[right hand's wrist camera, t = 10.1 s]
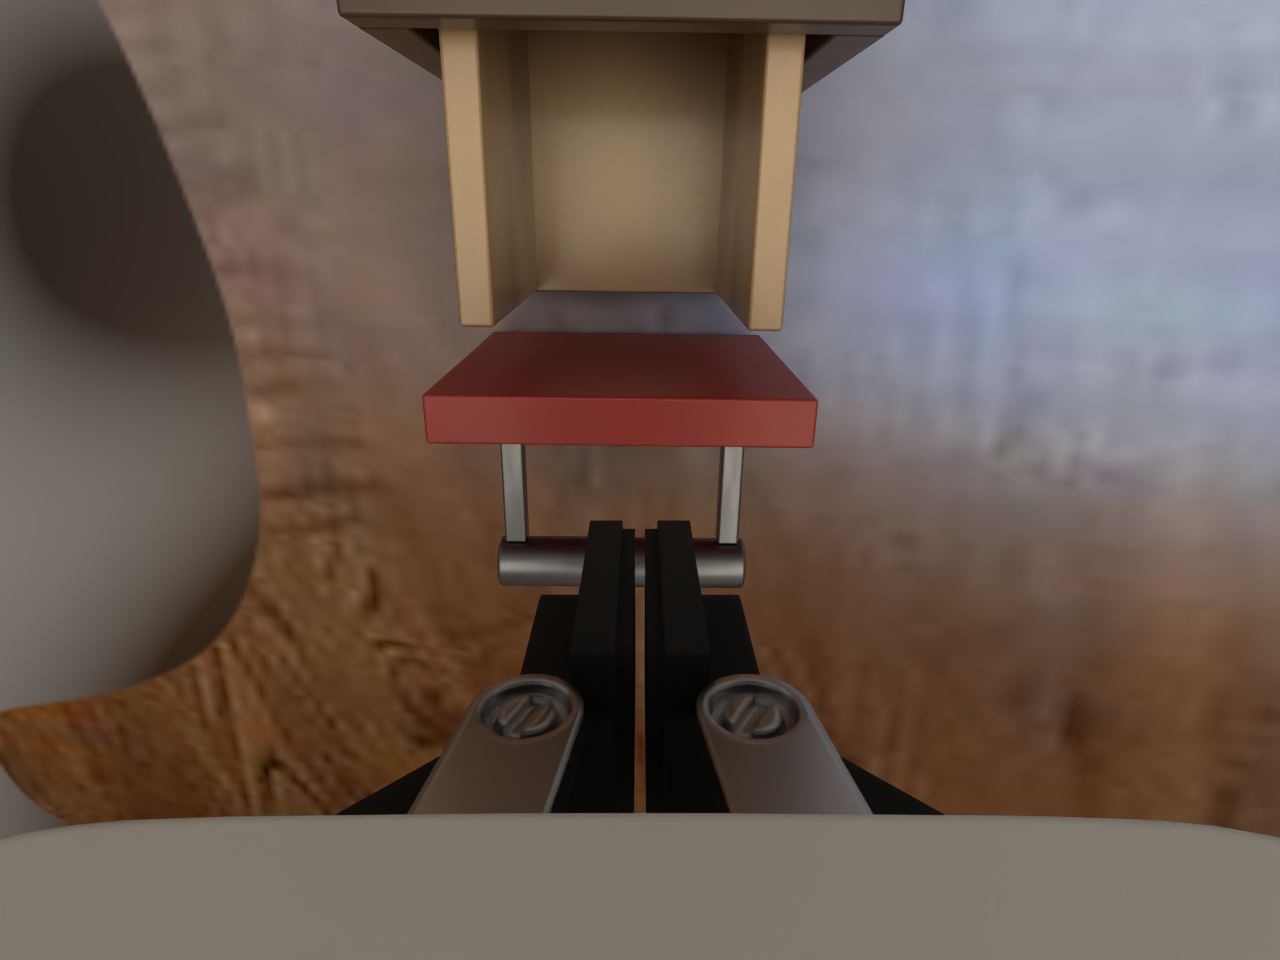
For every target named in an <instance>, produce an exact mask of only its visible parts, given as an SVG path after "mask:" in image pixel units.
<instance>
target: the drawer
mask: <svg viewBox="0 0 1280 960" xmlns="http://www.w3.org/2000/svg"><path fill="white" fill-rule="evenodd" d="M438 31H439V45H440V59H441V72H442V86H443V100H444V114H445V128H446V142H447V156H448V169H449V183H450V197H451V211H452V225H453V239H454V253H455V267H456V280H457V294H458V308H459V322H460V325H461V326H463V327H492V326H494V325H495V324H496V323H498V322H499V321H500V320H501V319H502V318H504V317H505V316H506V315H507V314H508V313H510V312H511V311H512V310H513V309H514V308H515V307H517V306H518V305H519V304H520V303H521V302H523V301H524V300H525V299H526V298H527V297H529V296H530V295H531V294H532V293H533V292H535V291H573V292H646V293H717V294H718V295H719V296H720V297H721V298H722V300H723V301H724V302H725V303H726V304H727V305H728V306H729V308H730V309H731V310H732V311H733V312H734V313H735V315H736V316H737V317H738V318H739V319H740V320H741V322H742V323H743V324H744V325H745V326H746V327H747V328H748V330H751V331H780V330H781V329H782V327H783V314H784V302H785V289H786V277H787V265H788V252H789V240H790V228H791V215H792V203H793V190H794V178H795V166H796V153H797V141H798V129H799V116H800V104H801V91H802V79H803V67H804V54H805V42H806V34H762V33H698V32H634V31H569V30H505V29H440V28H438ZM422 398H423V409H424V419H425V430H426V440H427V443H451V444H500V446H501V464H502V482H503V500H504V518H505V535H506V536H503V537H502V538H501V541H500V544H499V550H498V577H499V581H500V583H501V584H502V585H516V586H580V583H581V576H582V570H583V564H584V557H585V551H586V545H587V538H588V537H581V536H528V534H529V523H528V500H527V477H526V454H525V444H531V445H611V446H690V447H720V464H719V483H718V501H717V519H716V538H693V545H694V551H695V557H696V564H697V570H698V576H699V583H700V588H741V587H742V586H743V583H744V578H745V549H744V544H743V541H742V539H740V538H738V533H739V518H740V503H741V488H742V473H743V458H744V447H770V448H812V447H813V445H814V437H815V427H816V417H817V407H818V401H817V399H816V398H815V397H814V396H813V395H812V394H811V392H810V391H809V390H808V389H807V388H806V387H805V386H804V385H803V384H802V382H801V381H800V380H799V379H798V378H797V377H796V376H795V375H794V374H793V373H792V371H791V370H790V369H789V368H788V367H787V366H786V365H785V364H784V363H783V362H782V360H781V359H780V358H779V357H778V356H777V355H776V354H775V353H774V352H773V350H772V349H771V348H770V347H769V346H768V345H767V344H766V343H765V342H764V341H763V339H762V338H761V337H760V336H758V335H697V334H622V333H547V332H494V333H493V334H491V335H490V336H489V337H488V338H487V339H486V340H485V341H484V342H482V343H481V344H480V345H479V346H478V347H477V348H476V349H475V350H473V351H472V352H471V353H470V354H469V355H468V356H467V357H465V358H464V359H463V360H462V361H461V362H460V363H459V364H458V365H456V366H455V367H454V368H453V369H452V370H451V371H450V372H448V373H447V374H446V375H445V376H444V377H443V378H442V379H441V380H439V381H438V382H437V383H436V384H435V385H434V386H433V387H431V388H430V389H429V390H428V391H427V392H426V393H425V394H424V395H423V397H422ZM635 587H645V537H635Z"/></svg>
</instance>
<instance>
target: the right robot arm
mask: <svg viewBox="0 0 1280 960" xmlns="http://www.w3.org/2000/svg"><path fill="white" fill-rule="evenodd" d="M634 758H635V529H623V524H622V521H590V526H589V532H588V538H587V545H586V551H585V557H584V564H583V570H582V576H581V583H580V589H579V595H541V597H540V600H539V603H538V607H537V611H536V615H535V619H534V623H533V627H532V631H531V635H530V639H529V643H528V647H527V651H526V655H525V658H524V662H523V666H522V670H521V674H520V675H518V676H513V677H508V678H505V679H503V680H500V681H498V682H495V683H493V684H491V685H490V686H488V687H487V688H485V689H484V690H482V691H481V692H480V693H479V694H478V695H477V696H476V697H475V699H474V700H473V701H472V702H471V704H470V705H469V707H468V709H467V711H466V712H465V714H464V716H463V718H462V719H461V721H460V723H459V725H458V726H457V728H456V730H455V731H454V733H453V735H452V737H451V738H450V740H449V742H448V744H447V745H446V747H445V749H444V751H443V752H442V754H441V756H439V757H438V758H436V759H434V760H432V761H431V762H429V763H427V764H425V765H423V766H422V767H420V768H418V769H416V770H414V771H413V772H411V773H409V774H407V775H406V776H404V777H402V778H400V779H398V780H397V781H395V782H393V783H391V784H389V785H388V786H386V787H384V788H382V789H381V790H379V791H377V792H375V793H373V794H372V795H370V796H368V797H366V798H364V799H363V800H361V801H359V802H357V803H356V804H354V805H352V806H350V807H348V808H347V809H345V810H343V811H341V812H339V813H338V814H336V815H324V816H230V817H201V818H174V819H146V820H120V821H110V822H100V823H90V824H80V825H70V826H62V827H57V828H51V829H45V830H40V831H34V832H28V833H23V834H17V835H12V836H6V837H2V838H0V960H1280V838H1278V837H1274V836H1268V835H1263V834H1257V833H1252V832H1246V831H1240V830H1235V829H1229V828H1223V827H1218V826H1210V825H1200V824H1190V823H1180V822H1170V821H1160V820H1134V819H1106V818H1079V817H1051V816H972V815H944V814H942V813H941V812H939V811H937V810H935V809H933V808H932V807H930V806H928V805H926V804H924V803H923V802H921V801H919V800H917V799H916V798H914V797H912V796H910V795H908V794H907V793H905V792H903V791H901V790H899V789H898V788H896V787H894V786H892V785H891V784H889V783H887V782H885V781H883V780H882V779H880V778H878V777H876V776H874V775H873V774H871V773H869V772H867V771H866V770H864V769H862V768H860V767H858V766H857V765H855V764H853V763H851V762H849V761H848V760H846V759H844V758H842V757H841V756H839V754H838V752H837V751H836V749H835V747H834V745H833V744H832V742H831V740H830V738H829V737H828V735H827V733H826V731H825V730H824V728H823V726H822V725H821V723H820V721H819V719H818V718H817V716H816V714H815V712H814V711H813V709H812V707H811V705H810V704H809V702H808V701H807V700H806V699H805V697H804V696H803V695H802V694H801V693H800V692H799V691H798V690H796V689H795V688H793V687H792V686H790V685H789V684H787V683H785V682H782V681H780V680H777V679H775V678H772V677H767V676H762V675H760V674H759V670H758V666H757V662H756V658H755V655H754V651H753V647H752V643H751V639H750V635H749V631H748V627H747V623H746V619H745V615H744V611H743V607H742V603H741V600H740V597H739V595H701V589H700V583H699V576H698V570H697V564H696V557H695V551H694V545H693V538H692V532H691V526H690V521H658V524H657V529H645V758H646V813H634Z"/></svg>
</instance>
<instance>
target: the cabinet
mask: <svg viewBox="0 0 1280 960" xmlns="http://www.w3.org/2000/svg"><path fill="white" fill-rule="evenodd" d="M904 4H905V0H337V7H338V12H339V15H340V16H342V17H343V18H345V19H346V20H348V21H350V22H351V23H353V24H354V25H356V26H358V27H359V28H360V29H362V30H363V31H365V32H366V33H368V34H370V35H371V36H373V37H374V38H376V39H378V40H379V41H381V42H382V43H384V44H386V45H387V46H389V47H390V48H392V49H394V50H395V51H397V52H398V53H400V54H402V55H403V56H405V57H406V58H408V59H410V60H411V61H413V62H414V63H416V64H418V65H419V66H421V67H422V68H424V69H425V70H427V71H429V72H430V73H432V74H433V75H435V76H437V77H438V78H440V79H441V80H442V72H441V59H440V45H439V31H438V28H440V29H505V30H569V31H634V32H698V33H762V34H806V42H805V54H804V67H803V79H802V91H801V93H802V92H803V91H805V90H806V89H808V88H809V87H810V86H812V85H813V84H815V83H816V82H818V81H819V80H821V79H822V78H824V77H825V76H827V75H828V74H829V73H831V72H832V71H834V70H835V69H837V68H838V67H840V66H841V65H843V64H844V63H845V62H847V61H848V60H850V59H851V58H853V57H854V56H856V55H857V54H859V53H860V52H862V51H863V50H864V49H866V48H867V47H869V46H870V45H872V44H873V43H875V42H876V41H878V40H879V39H880V38H882V37H883V36H884V35H885V34H887V33H889V32H890V31H892V30H893V29H894V28H896V27H897V26H899V25H900V24H901V22H902V20H903V13H904Z"/></svg>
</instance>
